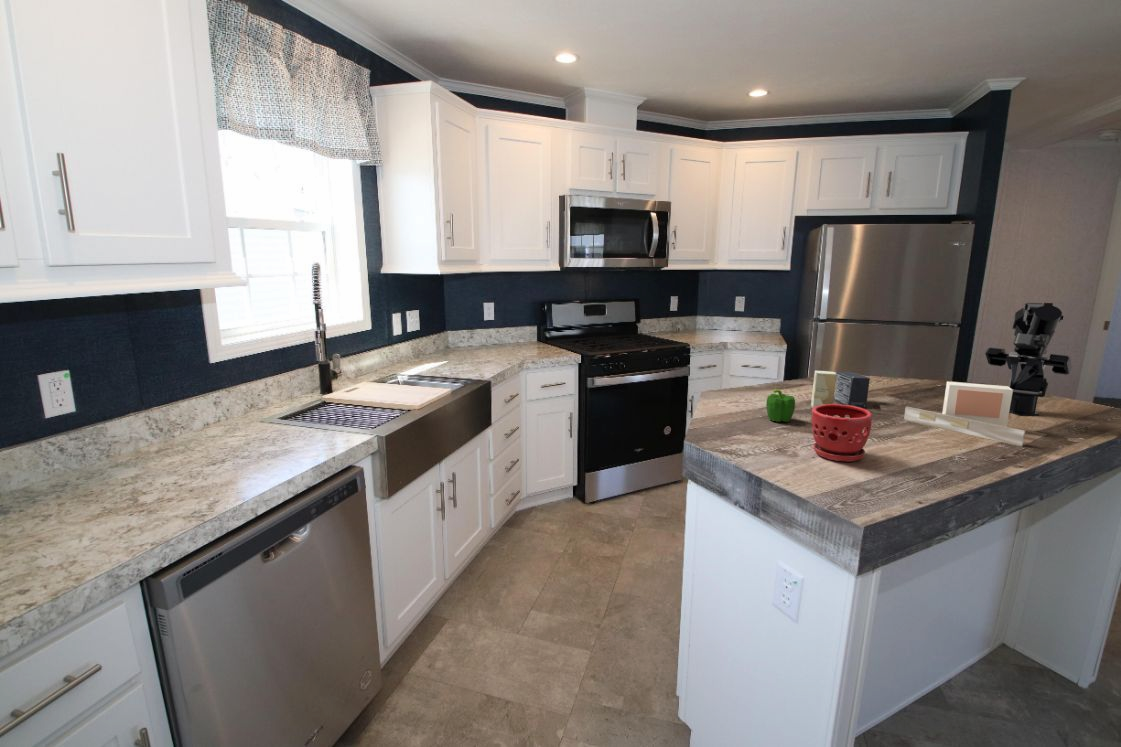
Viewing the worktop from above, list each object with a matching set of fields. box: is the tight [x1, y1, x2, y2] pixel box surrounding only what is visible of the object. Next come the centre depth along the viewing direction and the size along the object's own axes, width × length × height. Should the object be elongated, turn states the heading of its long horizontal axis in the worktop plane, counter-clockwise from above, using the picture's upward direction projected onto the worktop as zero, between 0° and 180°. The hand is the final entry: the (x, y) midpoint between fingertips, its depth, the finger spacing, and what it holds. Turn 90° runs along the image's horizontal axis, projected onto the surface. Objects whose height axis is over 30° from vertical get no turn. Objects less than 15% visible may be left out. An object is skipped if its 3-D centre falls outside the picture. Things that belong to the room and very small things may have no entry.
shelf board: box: [903, 406, 1048, 447], centre depth 151 cm, size 18×28×6 cm, turn 32°
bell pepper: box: [765, 388, 796, 423], centre depth 162 cm, size 8×8×10 cm
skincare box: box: [810, 370, 837, 409], centre depth 176 cm, size 6×4×12 cm
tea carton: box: [941, 381, 1014, 427], centre depth 150 cm, size 10×14×12 cm
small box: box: [833, 371, 871, 409], centre depth 181 cm, size 11×6×10 cm, turn 179°
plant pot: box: [811, 403, 873, 463], centre depth 132 cm, size 13×13×12 cm
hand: (1015, 382), depth 152 cm, fingers closed
